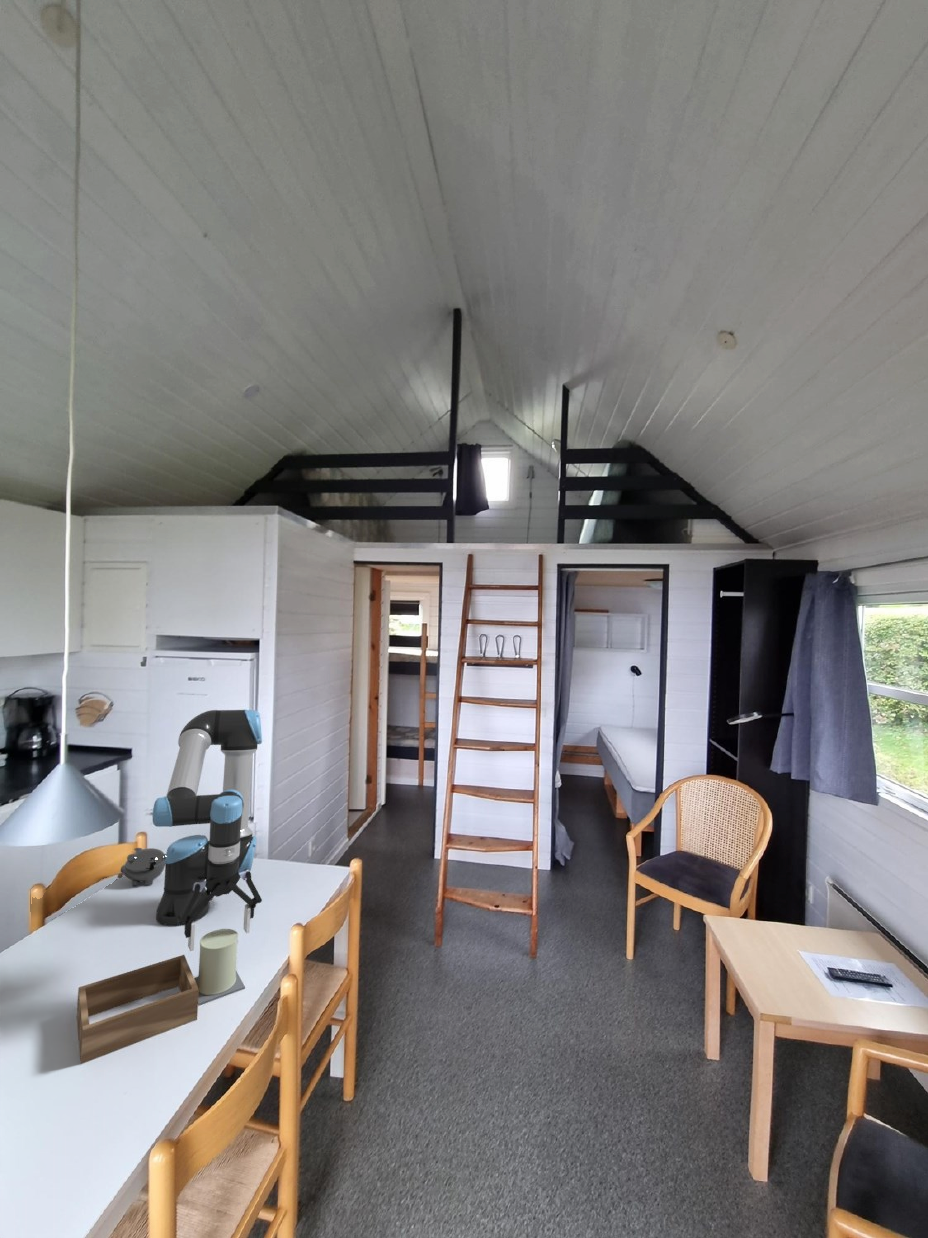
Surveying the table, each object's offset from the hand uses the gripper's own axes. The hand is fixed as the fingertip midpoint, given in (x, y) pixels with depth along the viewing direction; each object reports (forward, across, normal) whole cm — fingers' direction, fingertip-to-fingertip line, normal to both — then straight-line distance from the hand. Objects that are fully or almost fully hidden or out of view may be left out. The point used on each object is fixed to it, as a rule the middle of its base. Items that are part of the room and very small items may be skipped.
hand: (219, 939), depth 138 cm
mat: (+11, 0, -1) cm, 11 cm away
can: (+11, 0, -1) cm, 11 cm away
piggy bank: (+13, -7, +71) cm, 73 cm away
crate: (+11, -18, -3) cm, 22 cm away
